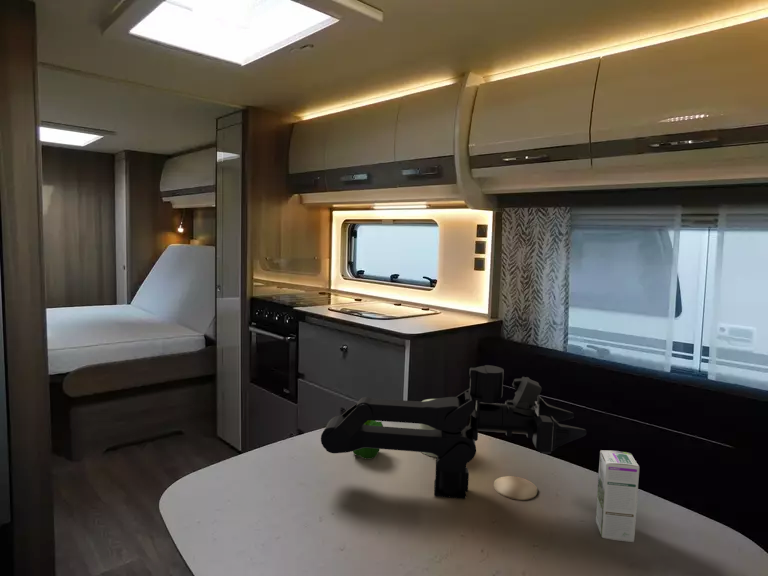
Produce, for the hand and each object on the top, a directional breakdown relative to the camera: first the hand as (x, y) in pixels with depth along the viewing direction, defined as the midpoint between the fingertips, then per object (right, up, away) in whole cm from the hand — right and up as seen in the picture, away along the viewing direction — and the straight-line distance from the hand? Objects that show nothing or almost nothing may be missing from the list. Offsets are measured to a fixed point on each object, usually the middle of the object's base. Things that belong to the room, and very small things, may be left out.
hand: (579, 423), depth 102 cm
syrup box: (+3, -18, -8) cm, 20 cm away
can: (-26, -13, +25) cm, 39 cm away
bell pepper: (-44, -13, +21) cm, 50 cm away
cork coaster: (-11, -16, +6) cm, 20 cm away
